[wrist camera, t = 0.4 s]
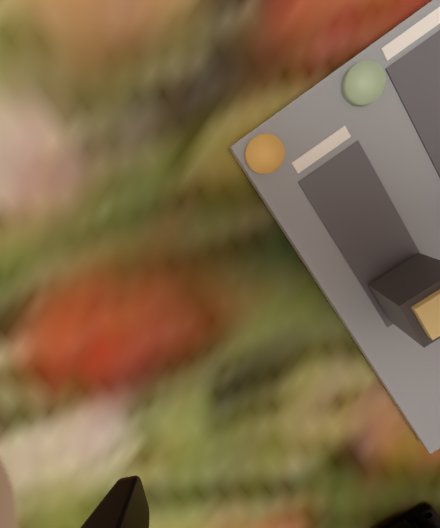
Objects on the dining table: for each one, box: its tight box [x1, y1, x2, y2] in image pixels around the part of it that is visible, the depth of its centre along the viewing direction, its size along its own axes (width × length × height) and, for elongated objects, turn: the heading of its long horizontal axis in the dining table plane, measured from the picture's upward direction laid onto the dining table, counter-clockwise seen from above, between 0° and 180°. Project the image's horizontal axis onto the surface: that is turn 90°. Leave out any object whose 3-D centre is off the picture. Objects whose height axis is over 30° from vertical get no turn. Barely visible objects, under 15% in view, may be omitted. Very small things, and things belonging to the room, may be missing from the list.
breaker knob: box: [368, 253, 440, 348], centre depth 17 cm, size 2×3×3 cm
